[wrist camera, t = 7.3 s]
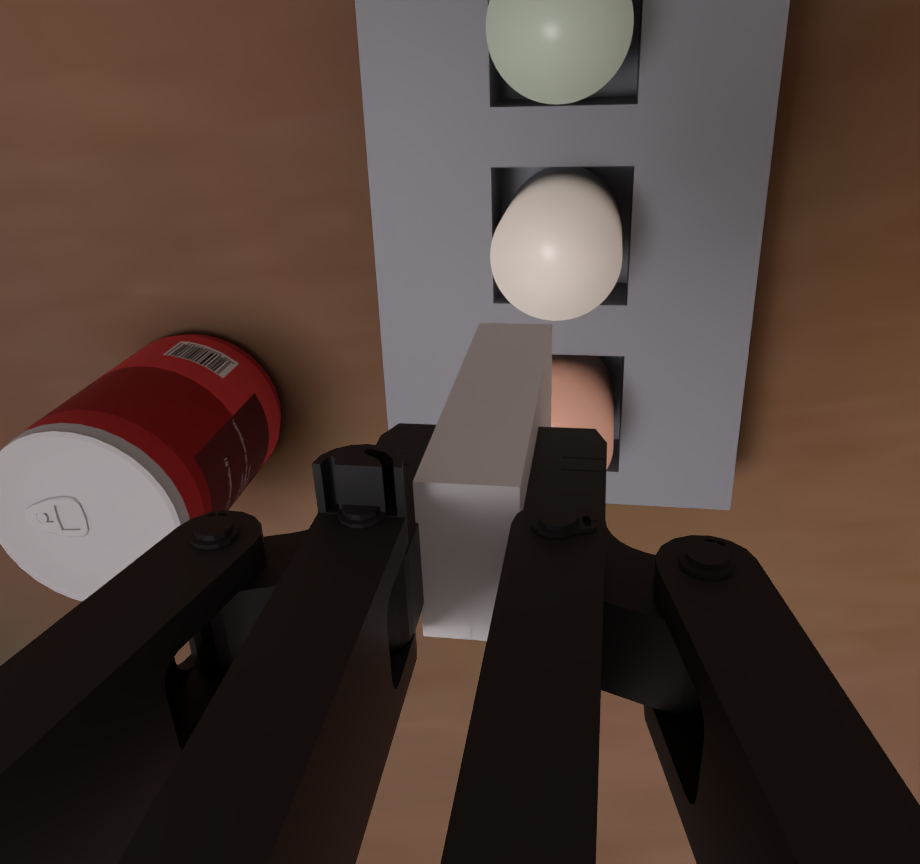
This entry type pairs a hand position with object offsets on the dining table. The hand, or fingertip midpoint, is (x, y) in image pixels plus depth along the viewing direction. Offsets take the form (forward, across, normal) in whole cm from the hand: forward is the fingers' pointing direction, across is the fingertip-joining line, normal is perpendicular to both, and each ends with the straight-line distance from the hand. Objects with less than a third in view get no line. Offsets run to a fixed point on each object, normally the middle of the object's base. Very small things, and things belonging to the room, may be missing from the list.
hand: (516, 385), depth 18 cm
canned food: (+19, -17, -10) cm, 27 cm away
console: (+19, 0, -1) cm, 19 cm away
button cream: (+17, 0, -1) cm, 17 cm away
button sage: (+17, 0, +6) cm, 18 cm away
